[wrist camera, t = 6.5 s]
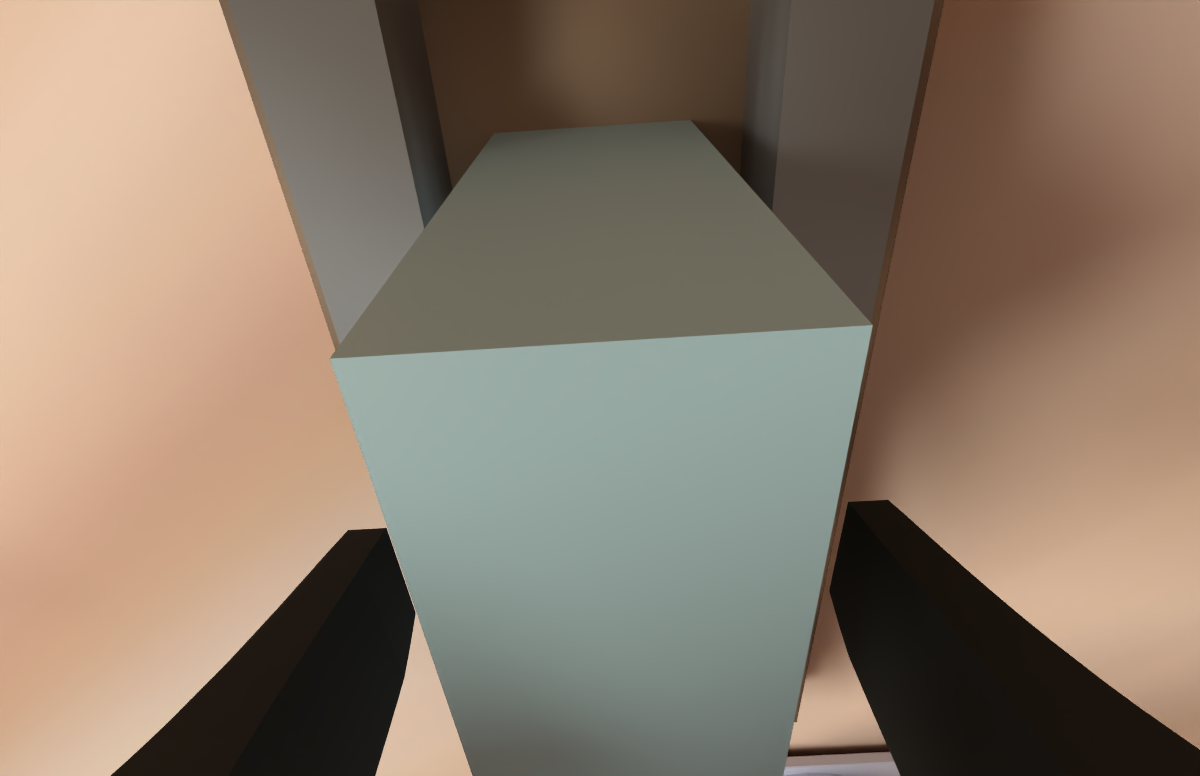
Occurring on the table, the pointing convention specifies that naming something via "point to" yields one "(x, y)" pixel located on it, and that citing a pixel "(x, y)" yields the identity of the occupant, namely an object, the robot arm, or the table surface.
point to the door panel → (610, 452)
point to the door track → (585, 115)
